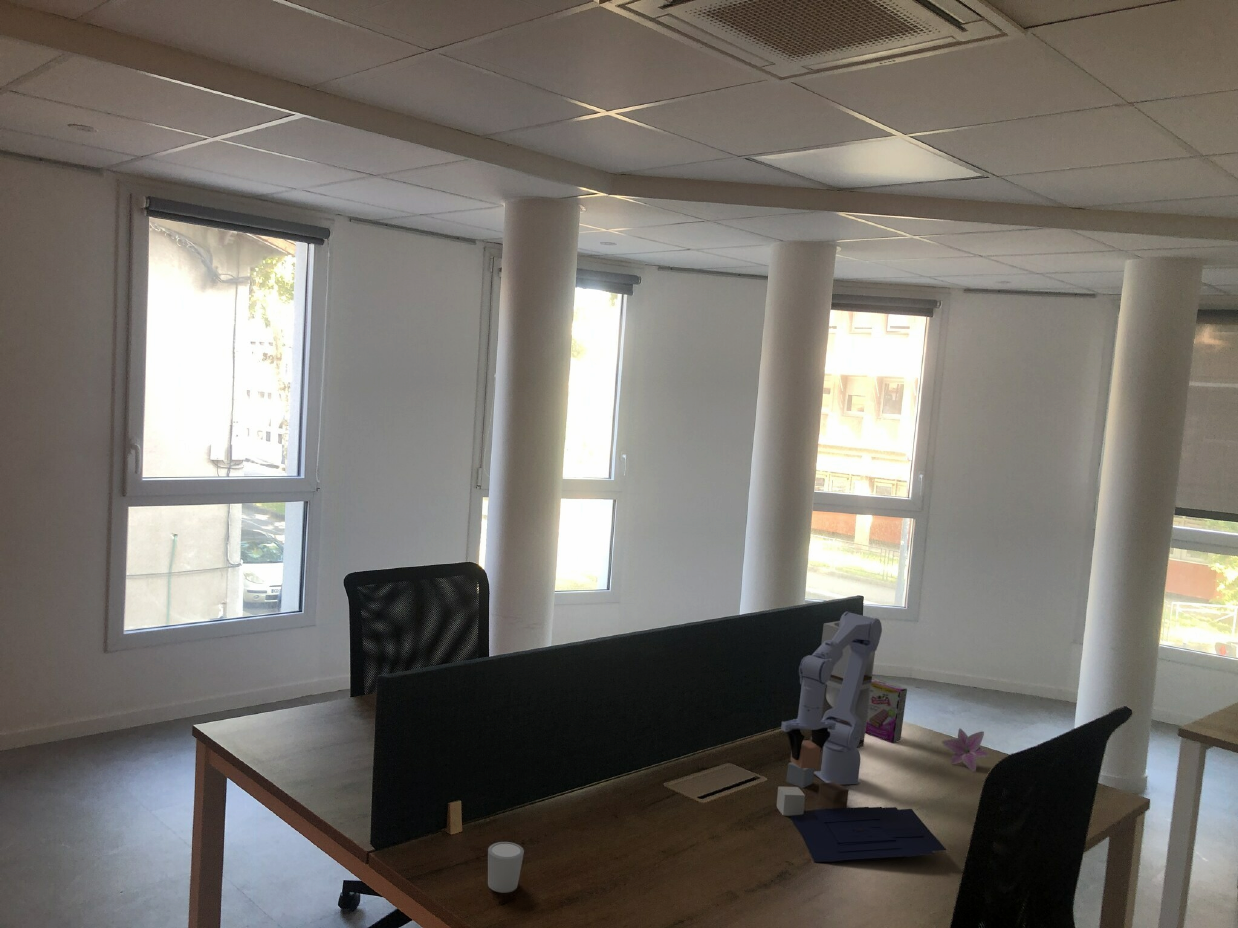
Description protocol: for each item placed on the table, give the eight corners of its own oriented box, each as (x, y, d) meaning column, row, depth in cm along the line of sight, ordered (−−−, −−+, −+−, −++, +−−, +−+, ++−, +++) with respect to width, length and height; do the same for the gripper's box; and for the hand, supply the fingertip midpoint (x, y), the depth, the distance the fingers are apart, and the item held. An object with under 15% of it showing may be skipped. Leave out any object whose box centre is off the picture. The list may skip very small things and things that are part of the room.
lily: (935, 758, 279) (937, 735, 274) (965, 741, 283) (967, 718, 278) (966, 786, 270) (968, 763, 265) (996, 768, 274) (999, 744, 269)
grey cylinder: (485, 874, 186) (489, 840, 186) (521, 876, 187) (524, 841, 186) (483, 893, 179) (487, 857, 179) (520, 895, 180) (523, 859, 179)
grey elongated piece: (810, 739, 281) (823, 623, 278) (830, 733, 288) (844, 620, 286) (842, 753, 273) (857, 633, 270) (863, 746, 280) (877, 629, 277)
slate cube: (795, 777, 251) (798, 758, 251) (812, 783, 248) (814, 765, 248) (786, 781, 248) (788, 763, 247) (803, 788, 244) (805, 769, 244)
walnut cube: (831, 800, 239) (833, 781, 238) (846, 808, 234) (848, 789, 234) (817, 803, 236) (819, 784, 235) (832, 812, 232) (834, 792, 231)
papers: (950, 866, 207) (950, 850, 207) (814, 874, 205) (814, 858, 204) (908, 815, 231) (908, 801, 231) (786, 822, 229) (786, 808, 228)
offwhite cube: (796, 806, 232) (798, 786, 232) (803, 815, 227) (805, 795, 227) (776, 806, 231) (778, 786, 231) (783, 815, 226) (784, 794, 226)
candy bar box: (860, 732, 292) (866, 680, 291) (868, 729, 296) (874, 677, 295) (893, 744, 285) (900, 690, 283) (901, 740, 288) (908, 687, 287)
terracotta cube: (807, 759, 240) (809, 740, 240) (818, 767, 236) (820, 747, 235) (790, 760, 238) (792, 740, 238) (801, 768, 234) (803, 748, 233)
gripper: (826, 698, 242) (820, 750, 243) (777, 699, 237) (771, 752, 238) (842, 707, 236) (836, 761, 237) (792, 709, 230) (786, 764, 232)
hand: (804, 757), depth 237 cm, fingers closed on terracotta cube, 5 cm apart
